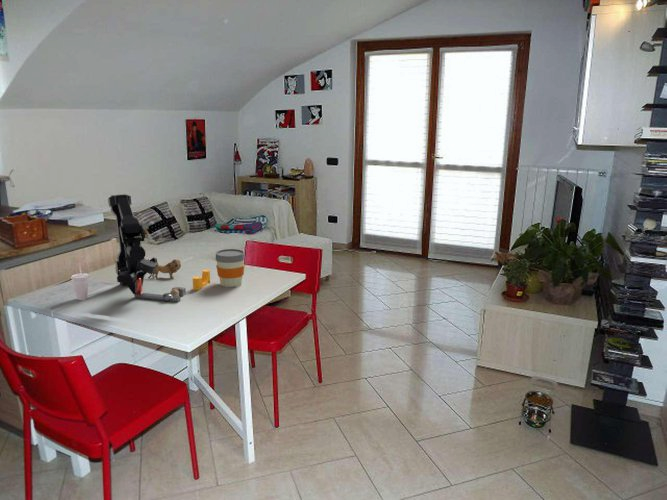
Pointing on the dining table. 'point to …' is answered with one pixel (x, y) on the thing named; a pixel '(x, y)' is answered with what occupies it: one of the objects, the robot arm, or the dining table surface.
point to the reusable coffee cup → (230, 267)
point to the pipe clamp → (201, 280)
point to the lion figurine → (167, 268)
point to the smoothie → (81, 284)
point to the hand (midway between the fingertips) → (137, 291)
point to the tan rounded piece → (175, 292)
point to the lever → (165, 297)
